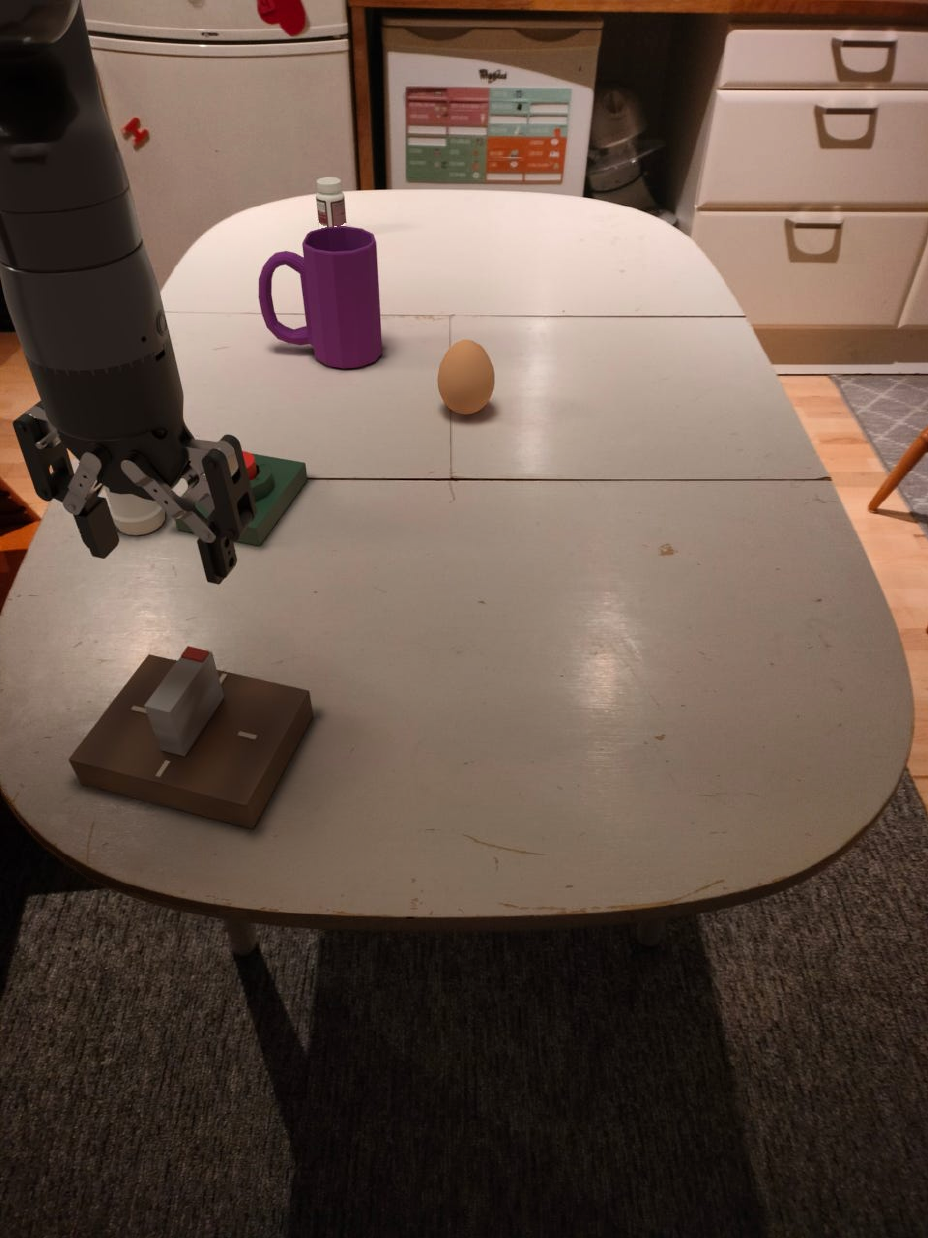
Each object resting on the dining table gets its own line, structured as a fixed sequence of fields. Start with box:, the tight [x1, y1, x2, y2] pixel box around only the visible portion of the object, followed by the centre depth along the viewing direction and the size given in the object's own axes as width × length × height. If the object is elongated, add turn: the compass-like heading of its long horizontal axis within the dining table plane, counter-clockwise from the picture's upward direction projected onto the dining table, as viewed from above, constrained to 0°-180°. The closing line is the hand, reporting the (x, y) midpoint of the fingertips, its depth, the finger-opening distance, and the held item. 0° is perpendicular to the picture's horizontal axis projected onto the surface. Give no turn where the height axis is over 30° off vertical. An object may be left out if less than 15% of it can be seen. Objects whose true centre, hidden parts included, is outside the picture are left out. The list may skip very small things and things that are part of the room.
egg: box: [436, 339, 495, 415], centre depth 100 cm, size 7×7×9 cm
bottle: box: [103, 486, 166, 536], centre depth 77 cm, size 5×5×25 cm
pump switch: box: [174, 452, 308, 546], centre depth 87 cm, size 12×9×4 cm
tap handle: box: [144, 645, 224, 756], centre depth 61 cm, size 6×2×5 cm, turn 164°
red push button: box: [242, 450, 257, 480], centre depth 85 cm, size 4×4×2 cm
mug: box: [258, 225, 383, 370], centre depth 108 cm, size 9×16×15 cm, turn 87°
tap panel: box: [68, 653, 314, 830], centre depth 64 cm, size 14×11×3 cm
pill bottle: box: [315, 176, 347, 227], centre depth 142 cm, size 5×5×8 cm
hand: (163, 563), depth 57 cm, fingers open, 8 cm apart
